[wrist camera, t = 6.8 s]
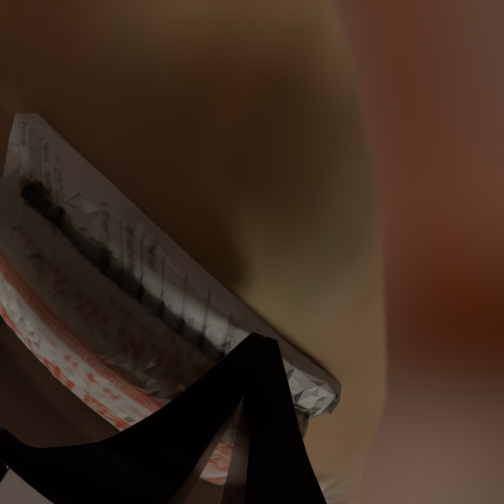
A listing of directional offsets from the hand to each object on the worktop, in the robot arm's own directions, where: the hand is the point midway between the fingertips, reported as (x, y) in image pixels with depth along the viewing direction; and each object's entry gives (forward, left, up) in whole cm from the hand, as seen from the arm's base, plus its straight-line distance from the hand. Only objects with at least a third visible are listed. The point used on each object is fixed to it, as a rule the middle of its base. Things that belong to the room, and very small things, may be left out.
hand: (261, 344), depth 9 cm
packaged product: (-3, +6, -2) cm, 7 cm away
